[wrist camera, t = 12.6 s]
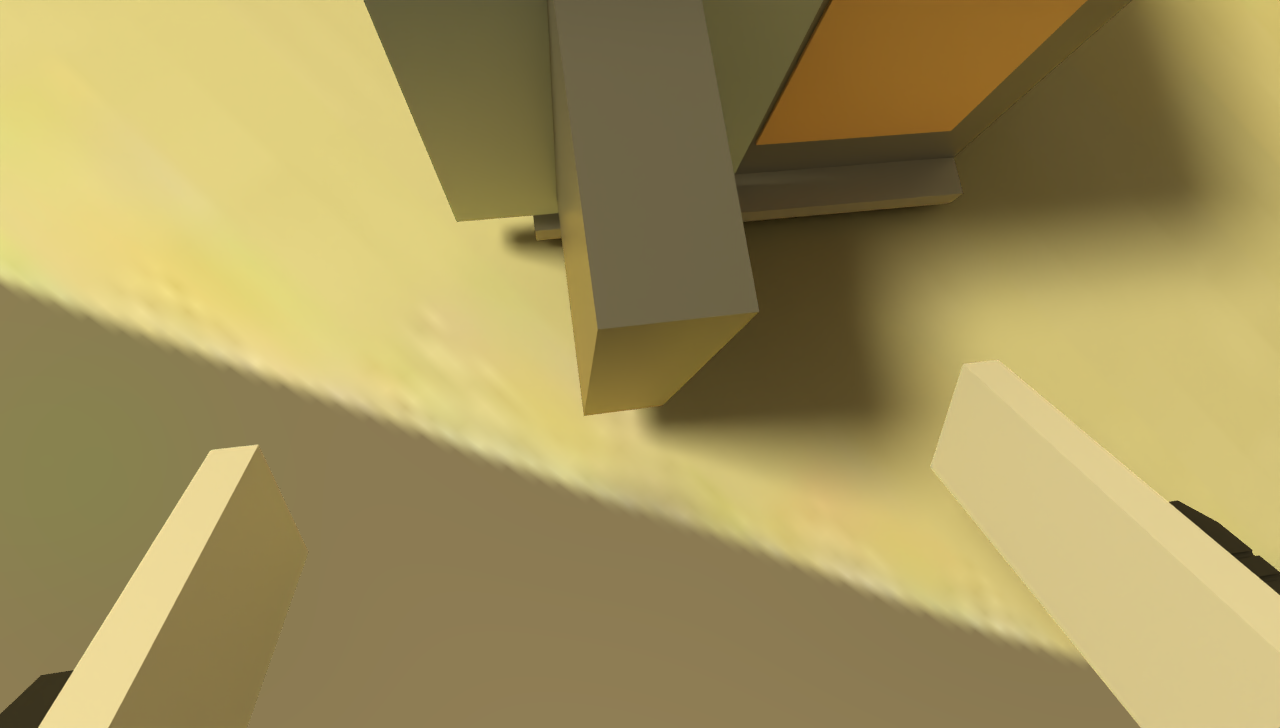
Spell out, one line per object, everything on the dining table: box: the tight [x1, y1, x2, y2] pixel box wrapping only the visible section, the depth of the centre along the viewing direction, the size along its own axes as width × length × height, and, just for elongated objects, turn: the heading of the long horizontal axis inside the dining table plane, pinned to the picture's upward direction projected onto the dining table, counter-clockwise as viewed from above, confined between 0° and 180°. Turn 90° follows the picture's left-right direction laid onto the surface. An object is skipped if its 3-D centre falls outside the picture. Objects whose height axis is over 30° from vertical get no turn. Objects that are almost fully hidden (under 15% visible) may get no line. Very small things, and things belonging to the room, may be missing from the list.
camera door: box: [364, 0, 823, 416], centre depth 15 cm, size 9×8×12 cm
